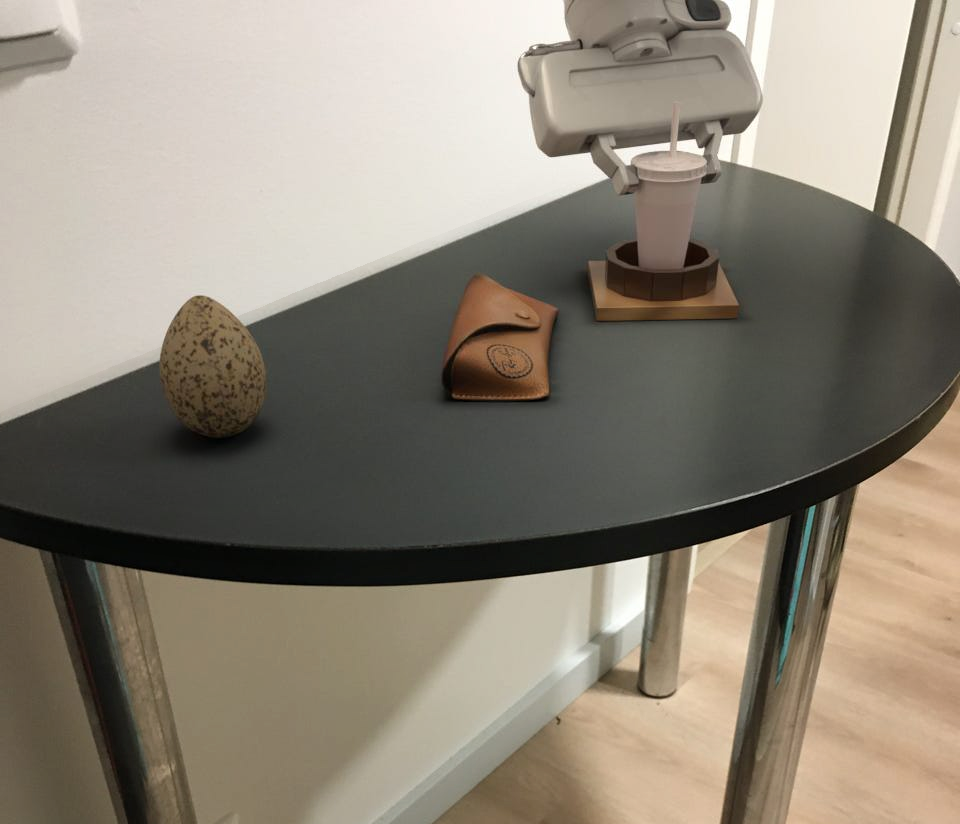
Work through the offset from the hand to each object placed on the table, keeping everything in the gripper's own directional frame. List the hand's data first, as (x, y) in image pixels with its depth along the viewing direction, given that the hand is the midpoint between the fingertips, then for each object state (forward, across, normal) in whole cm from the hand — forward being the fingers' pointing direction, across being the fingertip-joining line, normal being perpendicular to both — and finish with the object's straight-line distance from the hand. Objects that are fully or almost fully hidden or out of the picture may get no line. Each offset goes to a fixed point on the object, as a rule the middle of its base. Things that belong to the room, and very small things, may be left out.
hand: (670, 185), depth 93 cm
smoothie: (+5, 0, +6) cm, 8 cm away
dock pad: (+6, 0, +7) cm, 9 cm away
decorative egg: (+15, -41, -1) cm, 44 cm away
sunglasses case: (+11, -18, +3) cm, 21 cm away
